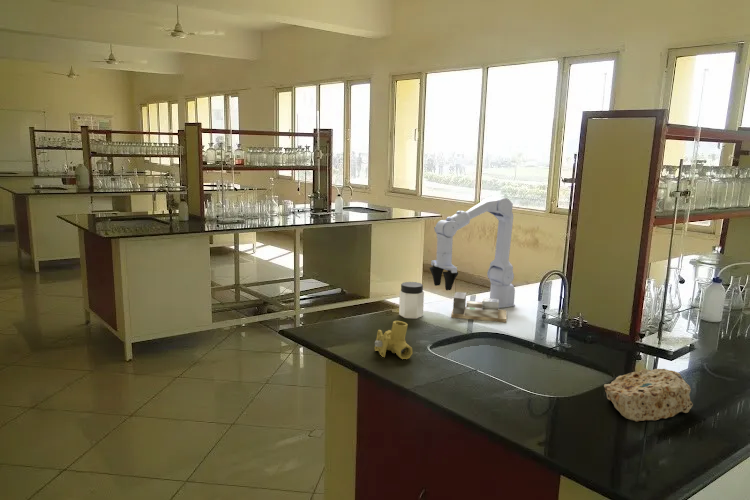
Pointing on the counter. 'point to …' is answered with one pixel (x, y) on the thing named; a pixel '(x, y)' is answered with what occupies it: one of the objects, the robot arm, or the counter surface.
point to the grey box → (490, 303)
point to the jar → (411, 300)
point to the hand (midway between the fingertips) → (442, 287)
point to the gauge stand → (475, 310)
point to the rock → (649, 394)
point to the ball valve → (394, 341)
